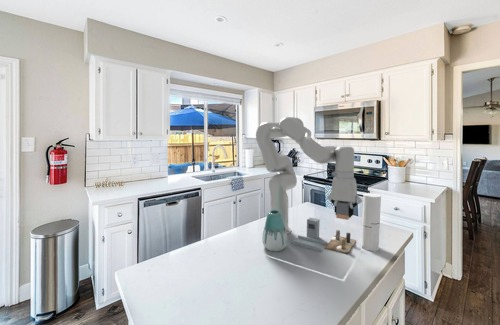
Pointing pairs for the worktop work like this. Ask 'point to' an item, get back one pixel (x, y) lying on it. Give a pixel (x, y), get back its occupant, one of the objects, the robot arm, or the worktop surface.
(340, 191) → the robot arm
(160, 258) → the worktop surface
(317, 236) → the gray rectangular block
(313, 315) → the worktop surface
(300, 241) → the chute
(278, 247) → the vase
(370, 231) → the cylindrical container
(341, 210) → the sleeve
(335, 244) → the pin board
